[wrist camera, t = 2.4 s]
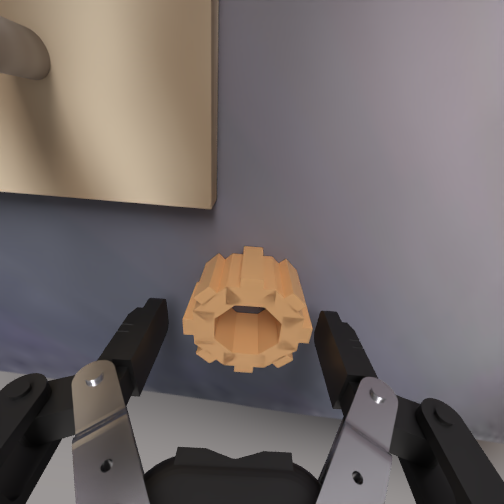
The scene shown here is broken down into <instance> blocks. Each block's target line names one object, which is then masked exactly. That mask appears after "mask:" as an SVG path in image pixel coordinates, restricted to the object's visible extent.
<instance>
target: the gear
mask: <svg viewBox="0 0 504 504" xmlns="http://www.w3.org/2000/svg"><path fill="white" fill-rule="evenodd" d="M235 305H239V306H253V307H265V308H266V309H265V310H263V311H261V312H260V313H258V314H252V313H239V312H236V311H235V310H233V309H232V307H233V306H235ZM312 330H313V328H312V325H311V321H310V317H309V314H308V310H307V306H306V303H305V299H304V295H303V292H302V288H301V285H300V281H299V277H298V274H297V270H296V269H295V268H294V267H293V266H292V265H291V264H290V263H289V261H288V260H287V259H285V260H283V261H282V262H280V263H278V262H277V261H276V260H275V259H274V258H273V257H271V256H263V248H261V247H249V246H244V252H243V254H234V253H233V254H232V255H230V256H229V257H228V258H226V259H224V258H223V257H222V256H221V255H220V254H217V255H216V256H215V257H214V258H212V259H211V260H210V261H208V262H207V263H206V265H205V268H204V270H203V273H202V276H201V278H200V281H199V282H197V283H196V286H195V288H194V291H193V294H192V296H191V299H190V301H189V304H188V307H187V309H186V312H185V314H184V317H183V331H184V334H186V335H194V344H196V345H197V346H198V348H197V351H196V354H197V355H199V356H200V357H202V358H203V359H204V360H206V361H207V362H208V363H211V362H213V361H214V360H218V361H219V362H220V363H222V364H223V365H232V366H234V372H247V373H252V372H253V367H261V368H264V367H266V366H268V365H270V364H274V365H275V366H276V367H277V368H279V367H281V366H283V365H285V364H287V363H289V362H291V361H293V356H292V353H293V352H295V351H297V347H298V343H309V340H310V337H311V333H312Z"/></svg>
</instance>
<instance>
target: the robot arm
mask: <svg viewBox="0 0 504 504" xmlns="http://www.w3.org/2000/svg"><path fill="white" fill-rule="evenodd" d="M168 324H169V320H168V311H167V302H166V299H159V298H149V299H148V301H147V302H146V304H145V306H144V307H143V308H138V307H137V308H136V309H135V310H133V311H132V312H131V313H130V314H128V316H127V317H126V319H125V320H124V322H123V324H122V325H121V326H120V327H119V329H118V332H116V333H115V335H114V336H113V338H112V339H111V341H110V342H109V344H108V345H107V347H106V348H105V350H104V351H103V353H102V354H101V356H100V357H99V359H98V360H97V361H95V362H92V363H90V364H88V365H86V366H85V367H83V368H82V369H81V370H80V371H78V373H77V374H76V375H73V376H69V377H65V378H60V379H55V380H51V381H47V379H46V377H45V376H44V375H42V374H39V373H33V374H28V375H24V376H22V377H19V378H17V379H15V380H14V381H12V382H10V383H9V384H7V385H6V386H5V387H4V388H3V389H2V390H1V391H0V504H26V502H27V500H28V498H29V496H30V495H31V493H32V491H33V489H34V488H35V486H36V484H37V482H38V481H39V479H40V477H41V475H42V473H43V472H44V470H45V468H46V466H47V465H48V463H49V461H50V459H51V457H52V456H53V454H54V452H55V450H56V449H57V447H58V445H59V443H60V441H61V440H62V438H65V437H69V436H72V435H75V437H74V438H73V440H72V454H73V468H74V483H75V497H76V504H384V503H385V498H386V492H387V487H388V481H389V476H390V470H391V465H392V455H391V454H394V455H396V456H398V458H399V460H400V463H401V466H402V468H403V471H404V473H405V476H406V478H407V481H408V483H409V486H410V489H411V491H412V494H413V496H414V499H415V501H416V504H504V482H503V480H502V479H501V477H500V476H499V474H498V473H497V471H496V470H495V468H494V467H493V465H492V463H491V462H490V461H489V459H488V457H487V456H486V454H485V453H484V451H483V450H482V448H481V447H480V445H479V444H478V442H477V441H476V439H475V438H474V436H473V435H472V433H471V432H470V430H469V429H468V427H467V426H466V424H465V423H464V421H463V420H462V418H461V417H460V416H459V415H458V413H457V412H456V411H455V410H453V409H452V408H451V407H450V406H448V405H447V404H445V403H444V402H442V401H440V400H437V399H433V398H427V399H425V400H423V401H422V403H421V404H418V403H416V402H413V401H410V400H407V399H405V398H402V397H400V396H397V395H396V394H395V393H394V391H393V390H392V389H391V387H390V386H389V385H387V384H386V383H385V382H383V381H382V380H380V379H378V377H377V375H376V373H375V371H374V369H373V367H372V365H371V363H370V361H369V359H368V357H367V355H366V353H365V351H364V349H363V347H362V345H361V343H360V341H359V339H358V337H357V335H356V333H355V331H354V330H353V329H352V328H351V327H350V326H349V324H348V323H344V322H341V319H340V317H339V315H338V313H337V312H333V311H321V312H320V315H319V318H318V322H317V325H316V328H315V332H314V343H315V347H316V350H317V354H318V357H319V361H320V365H321V368H322V372H323V375H324V379H325V382H326V386H327V390H328V393H329V397H330V400H331V404H332V407H333V409H342V412H343V416H344V417H343V419H342V421H341V424H340V427H339V429H338V431H337V434H336V437H335V439H334V442H333V444H332V447H331V449H330V452H329V454H328V457H327V459H326V462H325V464H324V466H323V469H322V471H321V473H320V476H319V478H318V480H317V479H316V478H315V477H314V476H313V475H312V474H311V473H310V472H308V471H307V470H305V469H304V468H303V467H301V466H299V465H297V464H295V463H293V462H292V453H286V452H267V451H263V452H260V453H256V454H253V455H249V456H245V457H242V458H239V459H232V458H229V457H227V456H224V455H222V454H219V453H216V452H214V451H212V450H209V449H206V448H190V447H178V448H177V452H176V456H175V457H172V458H169V459H167V460H164V461H162V462H161V463H159V464H157V465H155V466H154V467H153V468H152V469H150V470H149V471H148V472H146V473H145V474H144V471H143V467H142V463H141V459H140V456H139V452H138V448H137V445H136V441H135V437H134V433H133V429H132V426H131V422H130V418H129V415H128V411H127V407H126V406H127V403H128V401H129V399H130V397H131V396H140V394H141V392H142V390H143V387H144V385H145V383H146V380H147V378H148V376H149V373H150V371H151V369H152V366H153V364H154V362H155V359H156V357H157V355H158V352H159V350H160V348H161V345H162V343H163V341H164V338H165V336H166V333H167V330H168ZM389 453H391V454H389Z"/></svg>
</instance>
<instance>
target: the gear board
mask: <svg viewBox="0 0 504 504" xmlns="http://www.w3.org/2000/svg"><path fill="white" fill-rule="evenodd" d="M218 6H219V0H0V191H1V192H12V193H24V194H36V195H48V196H60V197H72V198H84V199H96V200H107V201H119V202H131V203H143V204H155V205H167V206H179V207H190V208H202V209H212V207H213V205H214V203H215V202H216V200H217V106H218Z"/></svg>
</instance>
